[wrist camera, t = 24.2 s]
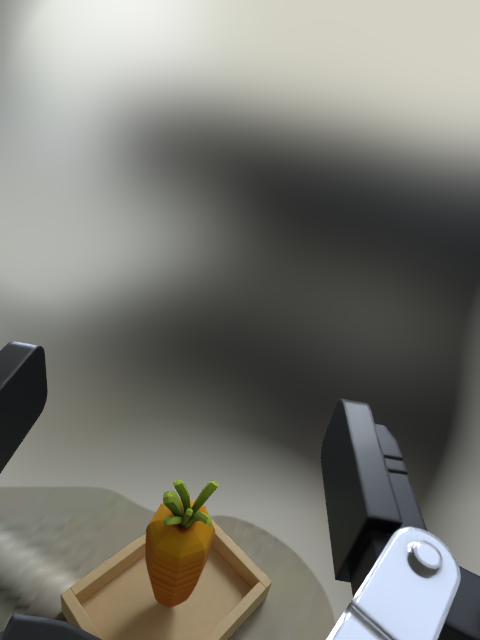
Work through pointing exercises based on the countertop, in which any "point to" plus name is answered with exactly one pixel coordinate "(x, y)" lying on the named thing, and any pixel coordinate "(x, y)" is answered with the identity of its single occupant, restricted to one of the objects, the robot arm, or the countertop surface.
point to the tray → (156, 619)
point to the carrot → (178, 544)
